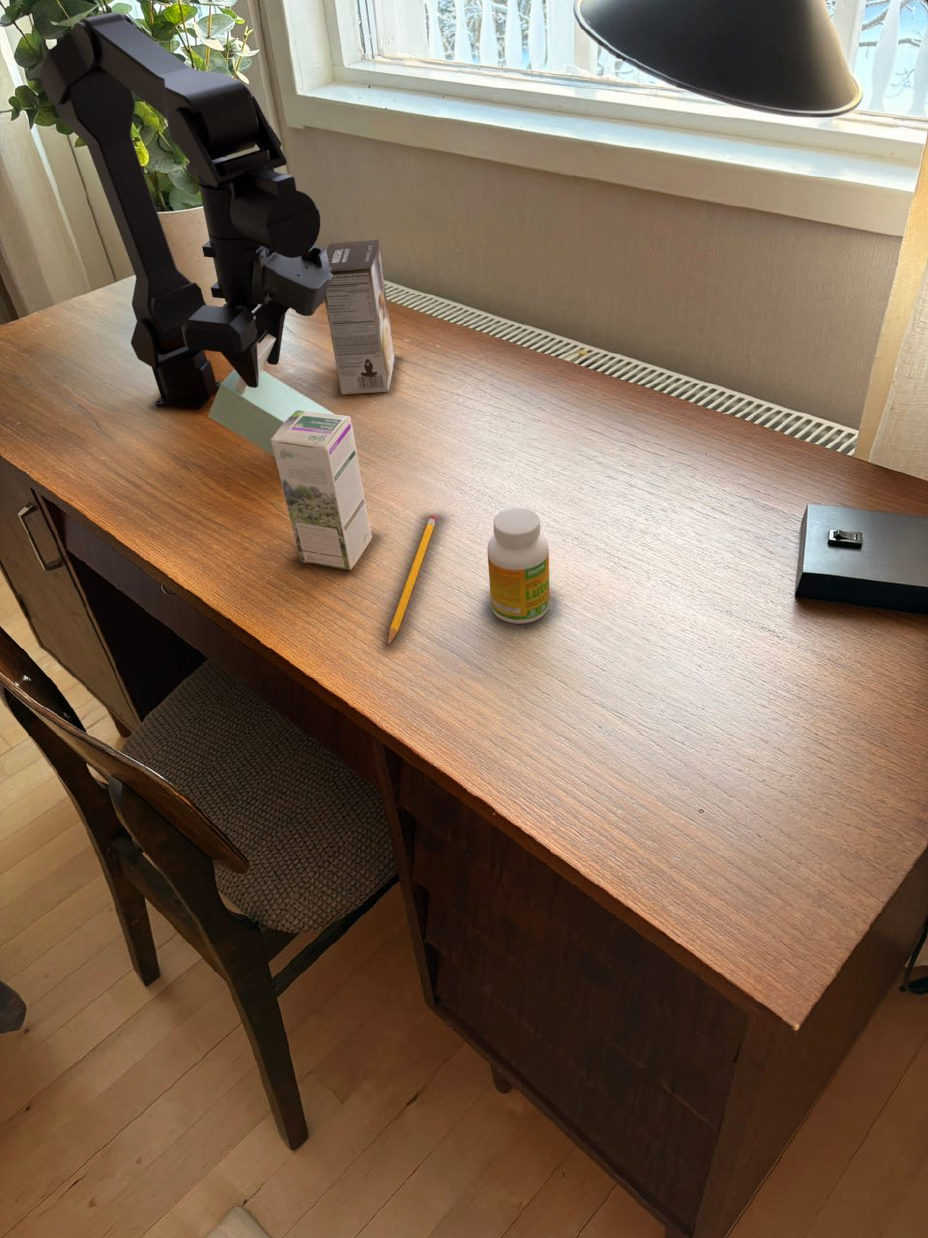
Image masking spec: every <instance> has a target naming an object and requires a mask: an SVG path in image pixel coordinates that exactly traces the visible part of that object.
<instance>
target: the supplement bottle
mask: <svg viewBox="0 0 928 1238" xmlns="http://www.w3.org/2000/svg"><path fill="white" fill-rule="evenodd" d="M487 566H488V580H489V594H490V607H491V610H492V612H493V614H494V615H495V616H496V617H497V618H499V619H500V620H502V621H504V622H506V623H510V624H517V625H518V624H519V625H521V624H529V623H533V622H536V621H538V620H539V619H540V618H542V617H544V615H546V613H547V612H548V610H549V606H550V549H549V541H548V540H547V538H546V536H545V535H544V534H543V533H542V532H541V519H540V517H539V515H538V514H537V513H536V512H535V511H534V510H532V509H530V508H526V507H510V508H506V509H503V510H501V511H500V512H498V513H497V514H496V515H495V516H494V518H493V535H492V536H491V537H490V539H489V540H488V544H487Z"/></svg>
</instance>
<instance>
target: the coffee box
mask: <svg viewBox="0 0 928 1238" xmlns="http://www.w3.org/2000/svg"><path fill="white" fill-rule="evenodd" d="M326 252H327V256H328V260H329V265H330V267H331V268H332V270H331V273H332V275H333V280H332V281H331V282H330V283H329V284H328V287H327V291H326V295H325V300H324V304H325V310H326V315H327V321H328V326H329V332H330V337H331V343H332V349H333V354H334V361H335V366H336V372H337V377H338V378H337V379H338V383H339V388H340V393H341V395H355V394H369V393H370V394H371V393H373V394H374V393H386V392H389V391H390V387H391V382H392V375H393V370H394V363H395V353H394V344H393V338H392V330H391V321H390V315H389V306H388V300H387V292H386V284H385V277H384V269H383V263H382V256H381V247H380V239H370V240H369V239H368V240H357V241H355V240H354V241H345V242H334V243H329V244H328V247H327V249H326Z"/></svg>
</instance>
